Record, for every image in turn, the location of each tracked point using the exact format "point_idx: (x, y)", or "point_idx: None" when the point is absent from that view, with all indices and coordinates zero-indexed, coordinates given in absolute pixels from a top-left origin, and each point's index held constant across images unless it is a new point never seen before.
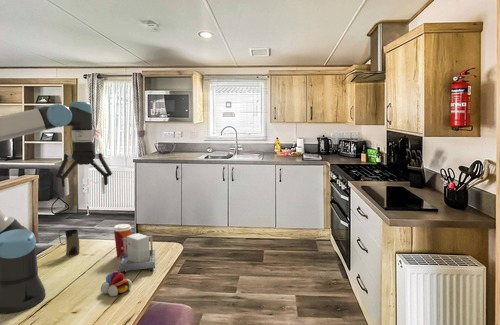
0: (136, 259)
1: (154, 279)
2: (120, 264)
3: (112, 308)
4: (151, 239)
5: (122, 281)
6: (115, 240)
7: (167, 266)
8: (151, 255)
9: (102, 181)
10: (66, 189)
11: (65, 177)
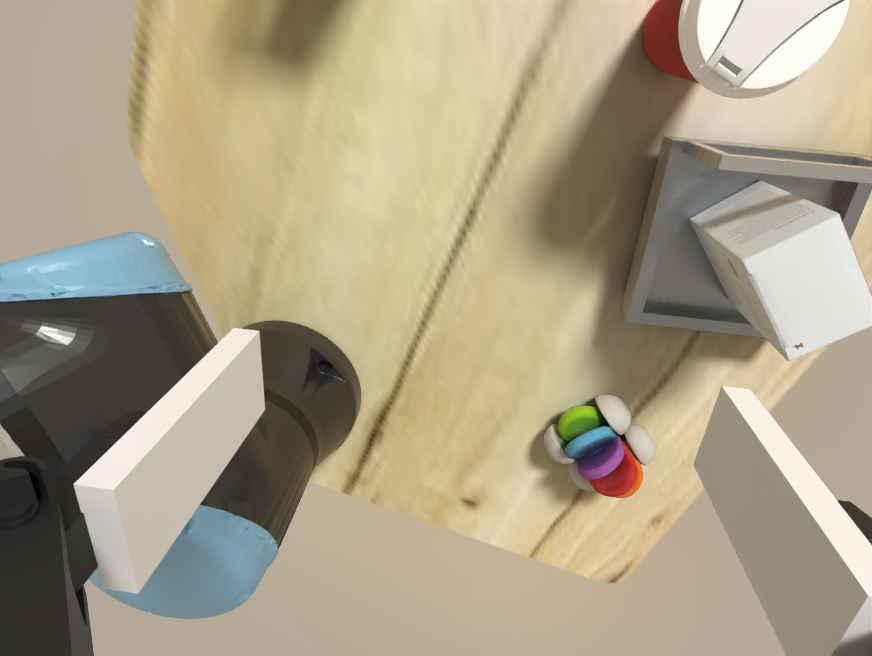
0: (728, 293)
1: None
2: (640, 315)
3: (573, 522)
4: None
5: (623, 497)
6: (665, 43)
7: None
8: (833, 193)
9: (780, 623)
10: (223, 460)
11: (72, 551)
